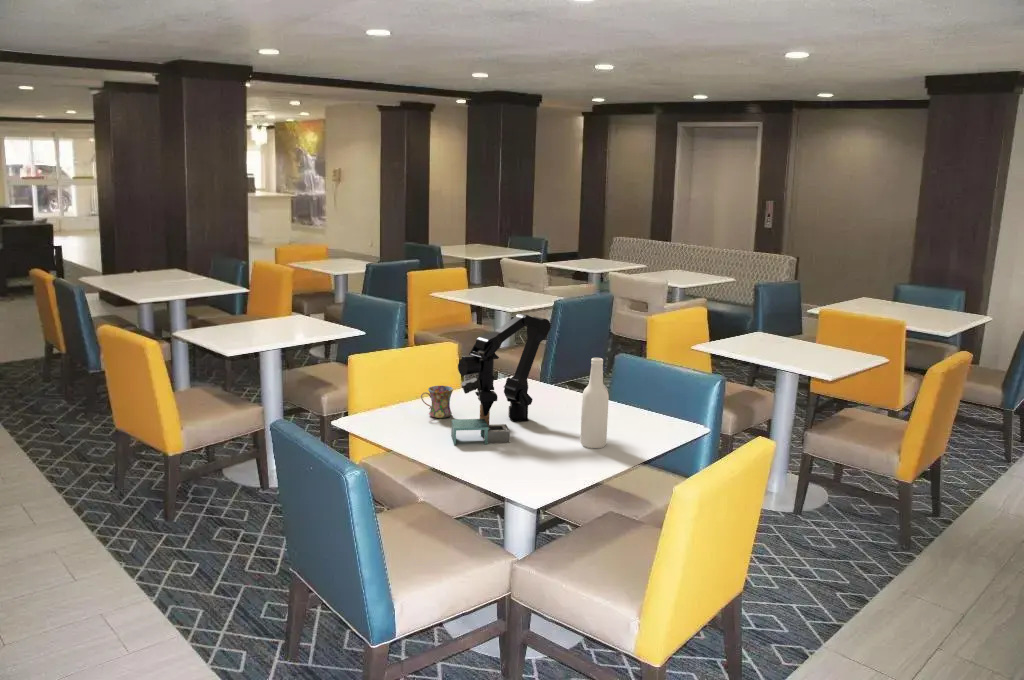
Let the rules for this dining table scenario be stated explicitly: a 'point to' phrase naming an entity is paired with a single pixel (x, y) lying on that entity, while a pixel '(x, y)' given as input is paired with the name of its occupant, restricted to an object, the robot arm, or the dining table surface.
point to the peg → (483, 415)
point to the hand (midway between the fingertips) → (484, 414)
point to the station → (482, 430)
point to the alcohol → (594, 408)
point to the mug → (439, 401)
